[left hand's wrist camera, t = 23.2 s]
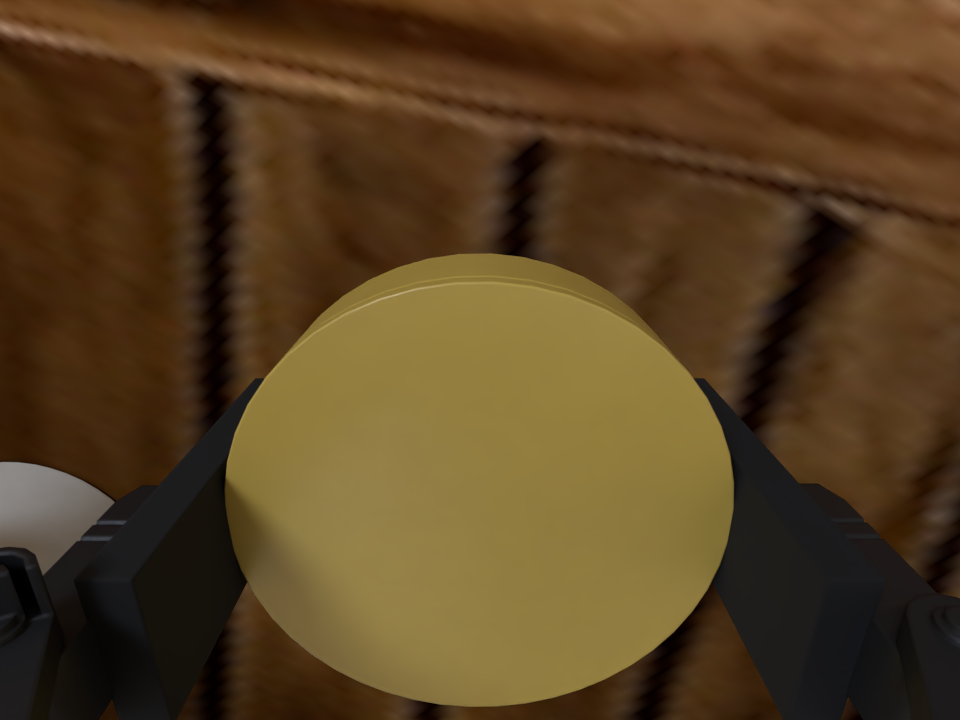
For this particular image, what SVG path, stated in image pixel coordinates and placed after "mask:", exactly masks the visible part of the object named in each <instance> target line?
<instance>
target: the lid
mask: <svg viewBox="0 0 960 720" xmlns="http://www.w3.org/2000/svg"><path fill="white" fill-rule="evenodd" d="M224 493H225V506H226V512H227V518H228V523H229V529H230V534H231V539H232V544H233V548H234V552H235V555H236V558H237V560H238V563H239V566H240V568H241V571H242V573H243V575H244V576H245V578H246V580H247V582H248V584H249V585H250V587H251V589H252V591H253V593H254V595H255V596H256V597H257V599H258V600H259V601H260V603H261V604H262V605H263V607H264V608H265V609H266V611H267V612H268V614H269V615H270V616H271V617H272V618H273V619H274V620H275V622H276V623H277V624H278V625H279V626H280V627H281V628H282V629H283V630H284V631H285V632H286V633H287V634H288V635H289V636H290V637H291V638H292V639H293V640H295V641H296V642H297V643H298V644H300V645H301V646H302V647H303V648H304V649H306V650H307V651H308V652H309V653H310V654H312V655H313V656H315V657H316V658H318V659H320V660H321V661H323V662H324V663H326V664H327V665H329V666H330V667H332V668H333V669H335V670H337V671H339V672H341V673H343V674H345V675H347V676H349V677H351V678H353V679H355V680H357V681H359V682H361V683H364V684H366V685H369V686H371V687H374V688H377V689H379V690H382V691H384V692H388V693H391V694H395V695H398V696H402V697H406V698H409V699H413V700H419V701H424V702H430V703H436V704H442V705H454V706H467V707H484V706H505V705H515V704H524V703H530V702H535V701H540V700H545V699H550V698H554V697H557V696H561V695H564V694H567V693H571V692H574V691H577V690H580V689H583V688H585V687H588V686H590V685H593V684H595V683H597V682H600V681H602V680H605V679H607V678H609V677H610V676H612V675H614V674H616V673H618V672H620V671H622V670H623V669H625V668H627V667H629V666H631V665H632V664H634V663H635V662H637V661H638V660H639V659H641V658H642V657H644V656H645V655H647V654H648V653H650V652H651V651H652V650H654V649H655V648H656V647H657V646H658V645H660V644H661V643H662V642H663V641H664V640H665V639H666V638H668V637H669V636H670V635H671V634H672V633H673V632H674V631H675V630H676V629H677V628H678V627H679V626H680V625H681V624H682V622H683V621H684V620H685V619H686V618H687V617H688V616H689V615H690V614H691V612H692V611H693V610H694V608H695V607H696V605H697V604H698V603H699V601H700V600H701V598H702V597H703V595H704V594H705V592H706V591H707V590H708V588H709V586H710V584H711V582H712V580H713V578H714V576H715V574H716V572H717V570H718V568H719V566H720V564H721V561H722V558H723V555H724V552H725V549H726V546H727V541H728V536H729V531H730V526H731V520H732V515H733V510H734V478H733V471H732V464H731V457H730V452H729V449H728V446H727V442H726V439H725V436H724V433H723V430H722V427H721V424H720V422H719V420H718V418H717V416H716V414H715V412H714V410H713V408H712V406H711V404H710V402H709V400H708V398H707V397H706V395H705V394H704V393H703V391H702V390H701V388H700V387H699V386H698V384H697V383H696V381H695V380H694V379H693V377H692V376H691V374H690V373H689V372H688V370H687V369H686V368H685V367H684V366H683V365H682V364H681V362H680V361H679V360H678V359H677V358H676V357H675V355H674V354H673V353H672V352H671V351H670V350H669V348H668V347H667V346H666V345H665V344H664V343H663V342H662V340H661V339H660V338H659V337H658V336H657V335H656V334H655V332H654V331H653V330H652V329H651V328H650V327H649V326H648V325H647V324H646V323H645V322H644V321H643V320H642V319H641V318H640V317H639V316H638V315H637V314H636V313H635V311H634V310H633V309H631V308H630V307H629V306H627V305H626V304H625V303H624V302H622V301H621V300H620V299H618V298H617V297H616V296H614V295H613V294H612V293H611V292H609V291H608V290H606V289H604V288H602V287H601V286H599V285H597V284H595V283H593V282H592V281H590V280H588V279H586V278H585V277H583V276H580V275H578V274H575V273H573V272H570V271H568V270H565V269H563V268H560V267H558V266H555V265H552V264H548V263H544V262H540V261H536V260H532V259H528V258H524V257H517V256H508V255H500V254H457V255H450V256H443V257H436V258H430V259H425V260H422V261H418V262H415V263H411V264H408V265H404V266H401V267H398V268H395V269H393V270H391V271H388V272H386V273H384V274H382V275H379V276H377V277H375V278H372V279H370V280H368V281H367V282H365V283H363V284H362V285H360V286H359V287H357V288H355V289H354V290H352V291H350V292H349V293H347V294H345V295H344V296H343V297H341V298H340V299H339V300H338V301H337V302H335V303H334V304H333V305H332V306H331V307H329V308H328V309H327V310H326V311H325V312H323V313H322V314H321V315H320V316H319V317H318V318H317V320H316V321H315V322H314V323H313V324H312V325H311V326H310V327H309V328H308V329H307V331H306V332H305V333H304V334H303V335H302V336H301V337H300V338H299V340H298V341H297V342H296V343H295V344H294V345H293V346H292V348H291V349H290V350H289V351H288V352H287V353H286V355H285V356H284V357H283V358H282V359H281V360H280V361H279V363H278V364H277V365H276V366H275V367H274V368H273V370H272V371H271V372H270V373H269V374H268V375H267V376H266V377H265V379H264V380H263V382H262V383H261V385H260V386H259V388H258V390H257V391H256V393H255V394H254V396H253V397H252V399H251V400H250V402H249V403H248V405H247V407H246V409H245V411H244V414H243V416H242V418H241V420H240V422H239V425H238V427H237V429H236V431H235V434H234V438H233V442H232V445H231V449H230V453H229V456H228V460H227V469H226V478H225V488H224Z"/></svg>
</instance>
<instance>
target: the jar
mask: <svg viewBox="0 0 960 720" xmlns="http://www.w3.org/2000/svg"><path fill="white" fill-rule="evenodd" d="M114 503H115V502H114V501H113V500H112V499H111V498H110V497H108V496H107V495H105V494H104V493H103V492H101V491H100V490H98V489H97V488H95V487H93V486H92V485H90V484H88V483H86V482H85V481H83V480H81V479H79V478H76V477H74V476H72V475H70V474H67V473H65V472H62V471H59V470H56V469H53V468H49V467H45V466H40V465H36V464H29V463H21V462H0V548H3V547H18V548H26V549H28V550H29V551H31V552H32V553H34V554H35V555H36V557H37V560H38V563H39V566H40V569H41V572H42V574H43V575H44V574H45V573H46V572H47V571H48V570H49V569H50V568H51V567H52V566H53V565H54V564H55V563H56V562H57V561H58V560H59V559H60V558H61V557H62V556H63V555H64V554H65V553H66V552H67V551H68V550H69V549H70V547H71V546H72V545H73V544H74V543H75V542H76V541H80V540H81V536H82V535H83V534H84V533H85V532H86V531H87V530H88V529H89V528H90V527H91V526H92V525H96V523H97V520H98V519H99V518H100V517H101V516H102V515H103V514H104V513H105V512H106V511H107V510H108V509H109V508H110V507H111V506H112V505H113V504H114Z"/></svg>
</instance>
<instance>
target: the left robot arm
mask: <svg viewBox="0 0 960 720" xmlns="http://www.w3.org/2000/svg"><path fill="white" fill-rule="evenodd" d="M693 379H694V380H695V381H696V383H697V384H698V386H699V387H700V388H701V390H702V391H703V393H704V394H705V395H706V397H707V398H708V400H709V402H710V404H711V406H712V408H713V410H714V412H715V414H716V416H717V418H718V420H719V422H720V424H721V427H722V430H723V433H724V436H725V439H726V442H727V446H728V449H729V452H730V457H731V464H732V471H733V478H734V510H733V515H732V520H731V526H730V531H729V536H728V541H727V546H726V549H725V552H724V555H723V558H722V561H721V564H720V566H719V568H718V570H717V572H716V574H715V576H714V578H713V580H712V582H713V584H714V586H715V588H716V590H717V592H718V594H719V596H720V598H721V599H722V601H723V603H724V605H725V607H726V609H727V611H728V613H729V615H730V617H731V619H732V621H733V623H734V625H735V627H736V629H737V631H738V633H739V634H740V636H741V638H742V640H743V642H744V644H745V646H746V648H747V650H748V652H749V654H750V656H751V658H752V660H753V662H754V664H755V666H756V667H757V669H758V671H759V673H760V675H761V677H762V679H763V681H764V683H765V685H766V687H767V689H768V691H769V693H770V695H771V697H772V699H773V700H774V702H775V704H776V706H777V708H778V710H779V712H780V714H781V716H782V718H783V720H840V719H841V716H842V713H843V710H844V707H845V704H846V701H847V698H848V697H849V699H850V700H851V702H852V703H853V705H854V706H855V708H856V709H857V711H858V713H859V714H860V716H861V717H862V719H863V720H960V599H959V598H957V597H952V596H946V595H941V594H937V593H936V592H935V591H934V590H933V589H932V588H931V587H930V586H929V585H928V584H927V583H926V582H925V581H924V580H923V579H922V578H921V576H920V575H919V574H918V573H917V572H916V571H915V570H914V569H913V568H912V567H911V566H910V565H909V564H908V563H907V562H906V561H905V560H904V559H903V558H902V557H901V556H900V555H899V554H898V553H897V552H896V551H895V550H894V549H893V548H892V547H891V546H890V545H889V544H888V543H887V542H886V541H885V540H884V539H880V537H879V534H878V533H877V532H876V531H875V530H874V529H873V528H872V527H871V526H870V525H869V524H868V523H864V519H863V518H862V517H861V516H860V515H859V514H858V513H857V512H856V511H855V510H854V509H853V508H852V507H851V506H850V505H849V504H848V503H847V502H846V501H845V500H844V499H842V498H841V497H839V496H838V495H836V494H834V493H833V492H831V491H829V490H828V489H826V488H824V487H823V486H821V485H819V484H799V483H798V482H797V481H796V480H795V479H794V478H793V476H792V475H791V474H790V473H789V472H788V471H787V470H786V469H785V468H784V466H783V465H782V464H781V463H780V462H779V461H778V460H777V459H776V458H775V457H774V455H773V454H772V453H771V452H770V451H769V450H768V449H767V448H766V447H765V445H764V444H763V443H762V442H761V441H760V440H759V439H758V438H757V437H756V435H755V434H754V433H753V432H752V431H751V430H750V429H749V428H748V427H747V426H746V424H745V423H744V422H743V421H742V420H741V419H740V418H739V417H738V416H737V414H736V413H735V412H734V411H733V410H732V409H731V408H730V407H729V406H728V404H727V403H726V402H725V401H724V400H723V399H722V398H721V397H720V396H719V395H718V393H717V392H716V391H715V390H714V389H713V388H712V387H711V386H710V385H709V383H708V382H707V381H706V380H705V379H695V378H693ZM263 380H264V379H255V380H254V381H253V382H252V383H251V384H250V385H249V386H248V387H247V389H246V390H245V391H244V392H243V393H242V394H241V395H240V396H239V397H238V399H237V400H236V401H235V402H234V403H233V404H232V405H231V406H230V407H229V409H228V410H227V411H226V412H225V413H224V414H223V415H222V416H221V417H220V418H219V420H218V421H217V422H216V423H215V424H214V425H213V426H212V427H211V428H210V430H209V431H208V432H207V433H206V434H205V435H204V436H203V437H202V438H201V439H200V441H199V442H198V443H197V444H196V445H195V446H194V447H193V448H192V449H191V451H190V452H189V453H188V454H187V455H186V456H185V457H184V458H183V459H182V461H181V462H180V463H179V464H178V465H177V466H176V467H175V468H174V469H173V470H172V472H171V473H170V474H169V475H168V476H167V477H166V478H165V479H164V480H163V482H162V483H161V484H160V485H159V486H141V487H139V488H137V489H136V490H134V491H132V492H131V493H129V494H127V495H126V496H124V497H123V498H121V499H119V500H118V501H116V502H115V503H114V504H113V505H112V506H111V507H110V508H109V509H108V510H107V511H106V512H105V513H104V514H103V515H102V516H101V517H100V518H99V519H98V520H97V523H96V525H92V526H91V527H90V528H89V529H88V530H87V531H86V532H85V533H84V534H83V535H82V536H81V540H80V541H76V542H75V543H74V544H73V545H72V546H71V547H70V549H69V550H68V551H67V552H66V553H65V554H64V555H63V556H62V557H61V558H60V559H59V560H58V561H57V562H56V563H55V564H54V565H53V566H52V567H51V568H50V569H49V570H48V571H47V572H46V573H45V574H44V575H43V574H42V572H41V569H40V566H39V563H38V560H37V557H36V555H35V554H34V553H32V552H31V551H29V550H28V549H26V548H18V547H3V548H0V720H99V718H100V717H101V715H102V714H103V712H104V710H105V709H106V707H107V706H108V704H109V703H110V701H111V700H112V699H113V702H114V705H115V708H116V711H117V714H118V717H119V720H176V719H177V717H178V715H179V713H180V711H181V709H182V708H183V706H184V704H185V702H186V700H187V698H188V696H189V694H190V692H191V690H192V688H193V686H194V684H195V682H196V680H197V678H198V676H199V675H200V673H201V671H202V669H203V667H204V665H205V663H206V661H207V659H208V657H209V655H210V653H211V651H212V649H213V647H214V645H215V643H216V642H217V640H218V638H219V636H220V634H221V632H222V630H223V628H224V626H225V624H226V622H227V620H228V618H229V616H230V614H231V612H232V610H233V609H234V607H235V605H236V603H237V601H238V599H239V597H240V595H241V593H242V591H243V589H244V587H245V585H246V583H247V580H246V578H245V576H244V575H243V573H242V571H241V568H240V566H239V563H238V560H237V558H236V555H235V552H234V548H233V544H232V539H231V534H230V529H229V523H228V518H227V512H226V506H225V493H224V488H225V478H226V469H227V460H228V456H229V453H230V449H231V445H232V442H233V438H234V434H235V431H236V429H237V427H238V425H239V422H240V420H241V418H242V416H243V414H244V411H245V409H246V407H247V405H248V403H249V402H250V400H251V399H252V397H253V396H254V394H255V393H256V391H257V390H258V388H259V386H260V385H261V383H262V382H263Z"/></svg>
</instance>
